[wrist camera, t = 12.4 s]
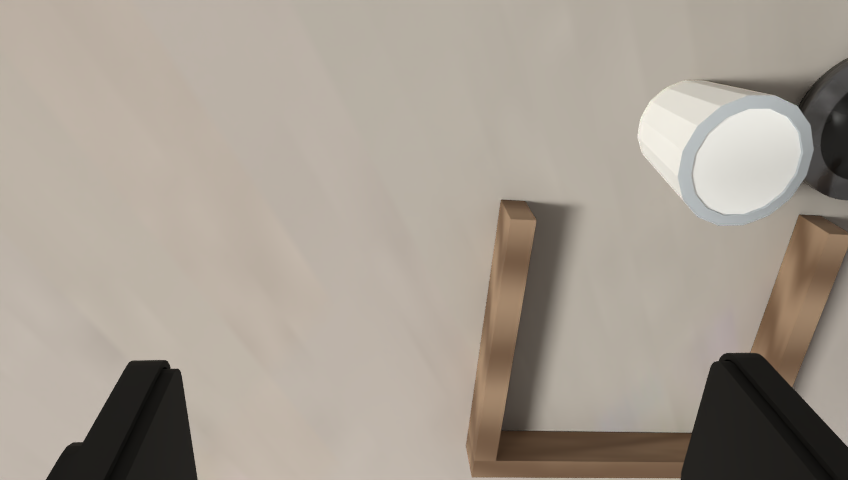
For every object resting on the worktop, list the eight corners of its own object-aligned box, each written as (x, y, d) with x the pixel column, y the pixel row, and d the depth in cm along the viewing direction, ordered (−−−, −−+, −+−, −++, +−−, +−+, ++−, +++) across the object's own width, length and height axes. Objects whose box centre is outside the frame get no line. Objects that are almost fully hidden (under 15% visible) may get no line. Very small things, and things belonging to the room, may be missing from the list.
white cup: (757, 142, 39) (832, 180, 32) (655, 202, 40) (709, 251, 34) (716, 44, 36) (790, 65, 30) (608, 111, 37) (656, 146, 31)
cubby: (501, 199, 39) (510, 219, 36) (820, 215, 41) (852, 235, 38) (466, 446, 47) (471, 477, 44) (734, 448, 49) (756, 478, 46)
